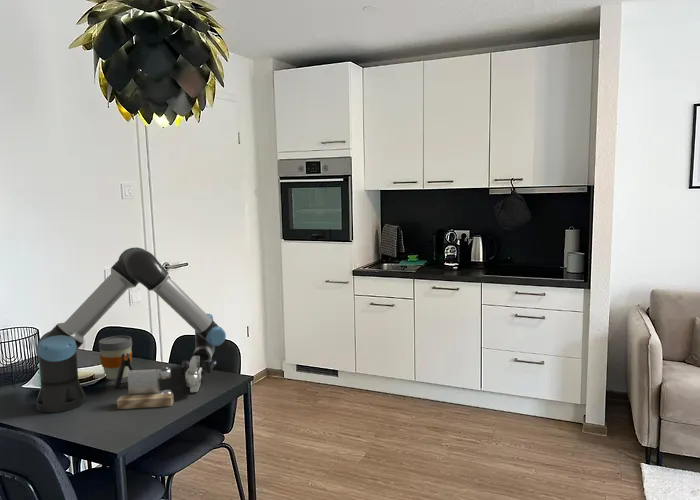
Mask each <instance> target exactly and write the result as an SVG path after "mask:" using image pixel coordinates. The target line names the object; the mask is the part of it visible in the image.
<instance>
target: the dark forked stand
mask: <svg viewBox="0 0 700 500" xmlns="http://www.w3.org/2000/svg"><path fill="white" fill-rule="evenodd" d="M126 355H127V358H128V359H127V360H123V359H124V358H125V356H124V354H122V356H121V359H122V362H121V365H120V368H119V371H118V374H117V377H116V379H114V390H122V389H128V381H123V380H122V379H123V378H122V376H123V371H124V367H125V366H128V367H129V370H135V368H134V367H133V365H132V361H131V362H130V355H129V354H128V353H126ZM122 381H123V382H122Z"/></svg>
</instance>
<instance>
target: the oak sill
mask: <svg viewBox="0 0 700 500" xmlns="http://www.w3.org/2000/svg"><path fill="white" fill-rule="evenodd" d="M174 398H175V397H174V393H173V392H172V393H165V394H147V395H129V394H128V395H120V396H119V398H117V400H116V406H117V410H126V409H128V410H129V409H143V408H160V407H162V408H163V407H172V406H173V403H174V401H175V399H174Z"/></svg>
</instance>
